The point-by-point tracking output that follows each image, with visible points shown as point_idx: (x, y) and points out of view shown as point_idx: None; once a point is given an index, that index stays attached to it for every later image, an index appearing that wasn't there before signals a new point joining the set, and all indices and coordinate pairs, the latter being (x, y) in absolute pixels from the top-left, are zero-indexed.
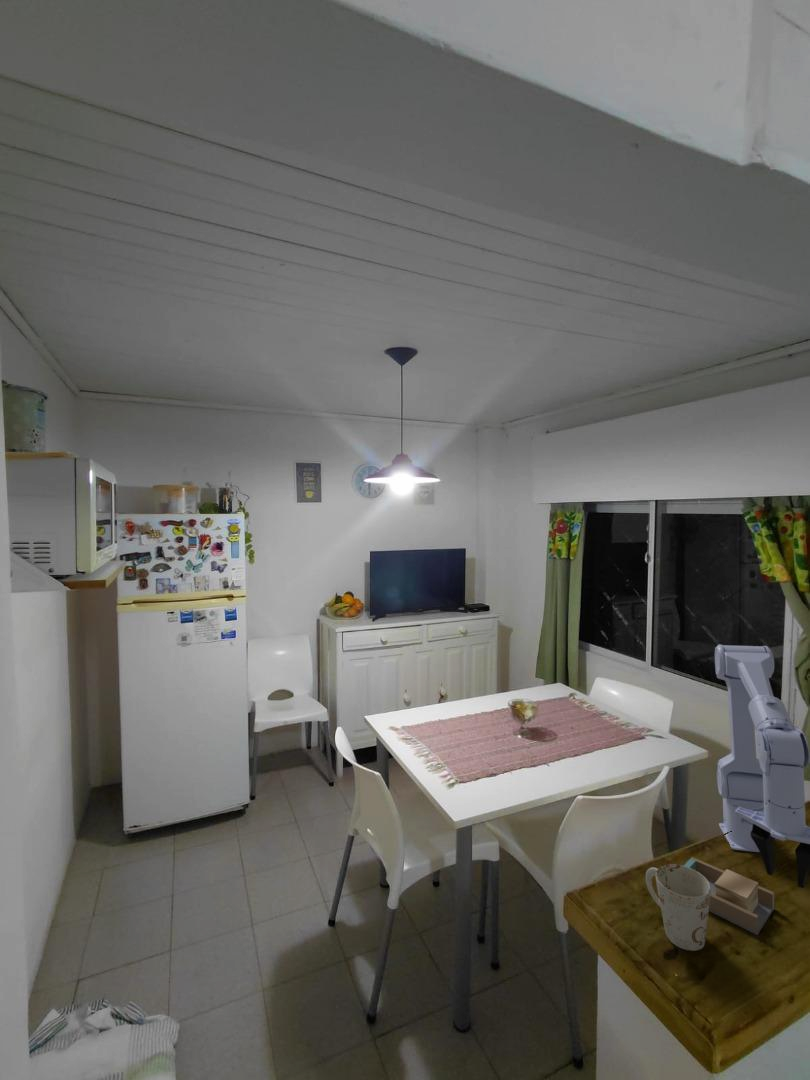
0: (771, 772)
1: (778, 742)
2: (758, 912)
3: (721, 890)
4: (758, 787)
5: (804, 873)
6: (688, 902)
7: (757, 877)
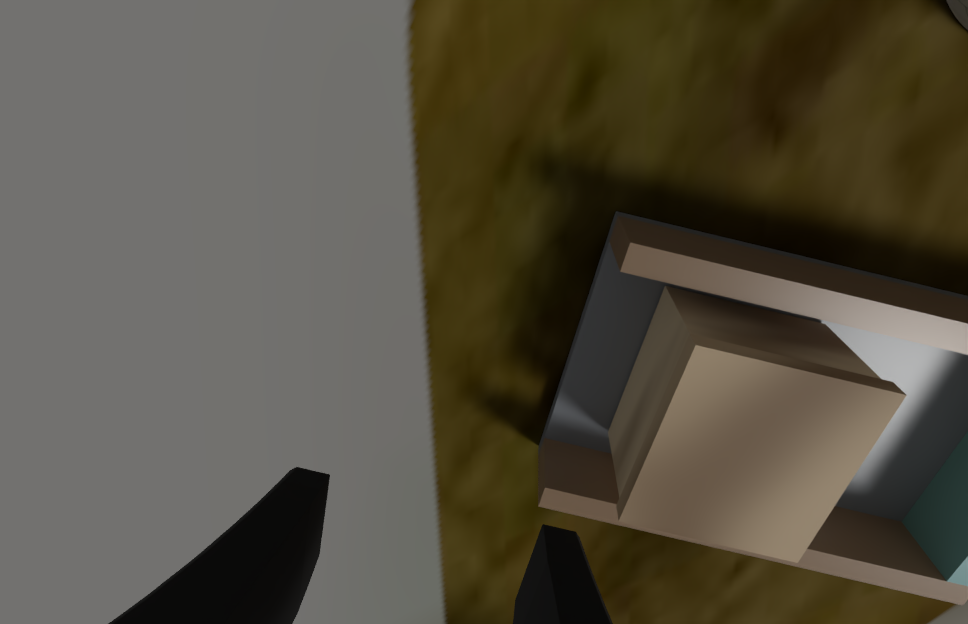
0: None
1: None
2: (607, 375)
3: (844, 370)
4: None
5: (170, 587)
6: None
7: (605, 604)
